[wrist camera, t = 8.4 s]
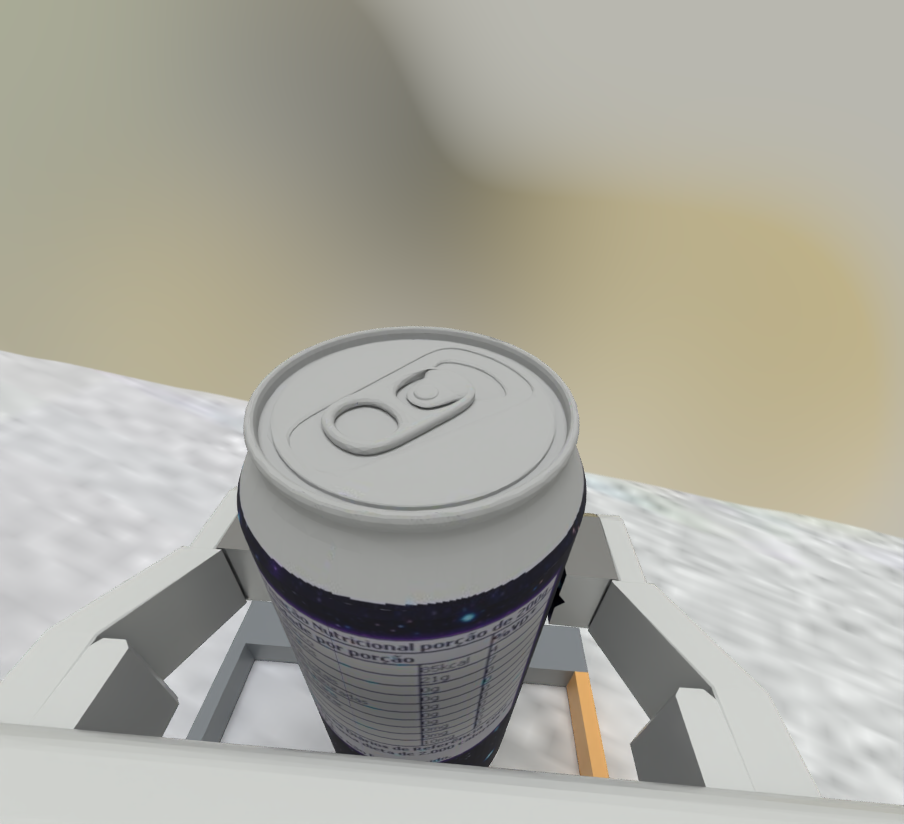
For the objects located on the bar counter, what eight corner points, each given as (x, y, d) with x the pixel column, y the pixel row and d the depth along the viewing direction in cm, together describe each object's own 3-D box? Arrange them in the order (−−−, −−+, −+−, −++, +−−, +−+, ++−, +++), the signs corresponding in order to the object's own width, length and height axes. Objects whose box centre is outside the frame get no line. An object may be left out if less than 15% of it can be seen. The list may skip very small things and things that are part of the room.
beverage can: (541, 700, 13) (678, 403, 6) (405, 883, 10) (362, 696, 3) (429, 582, 16) (433, 298, 9) (299, 689, 13) (155, 376, 6)
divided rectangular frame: (139, 887, 16) (116, 882, 14) (260, 617, 24) (252, 600, 23) (622, 934, 15) (640, 932, 14) (571, 643, 24) (579, 627, 23)
